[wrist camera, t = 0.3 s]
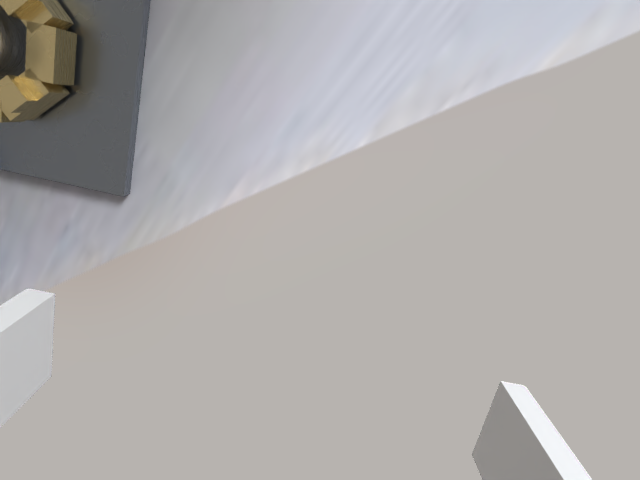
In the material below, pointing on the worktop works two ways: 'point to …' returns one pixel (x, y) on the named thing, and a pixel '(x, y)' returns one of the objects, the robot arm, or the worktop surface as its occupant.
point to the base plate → (83, 99)
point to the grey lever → (39, 60)
